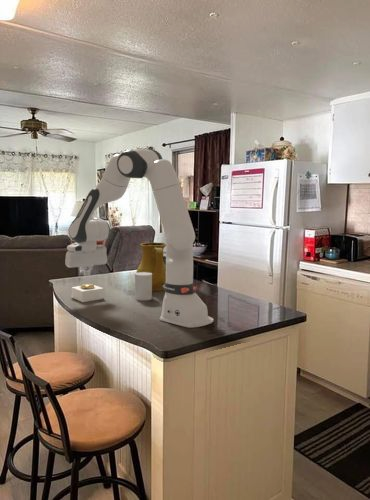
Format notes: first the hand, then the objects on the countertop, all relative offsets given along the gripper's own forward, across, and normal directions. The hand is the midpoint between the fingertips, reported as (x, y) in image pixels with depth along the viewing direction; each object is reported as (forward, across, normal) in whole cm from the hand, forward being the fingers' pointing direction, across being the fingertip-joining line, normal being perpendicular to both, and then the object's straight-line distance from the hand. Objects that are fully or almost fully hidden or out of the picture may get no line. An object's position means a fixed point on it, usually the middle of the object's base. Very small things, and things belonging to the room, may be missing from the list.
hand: (87, 275), depth 187 cm
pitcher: (+11, -36, +3) cm, 38 cm away
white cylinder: (+11, -21, +16) cm, 29 cm away
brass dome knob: (+11, 0, 0) cm, 11 cm away
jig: (+11, 0, 0) cm, 11 cm away
